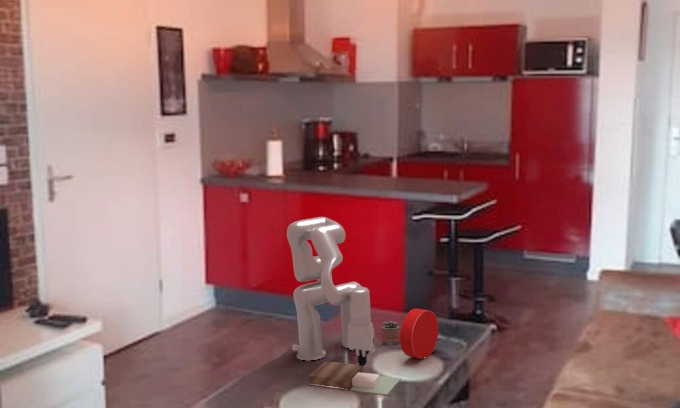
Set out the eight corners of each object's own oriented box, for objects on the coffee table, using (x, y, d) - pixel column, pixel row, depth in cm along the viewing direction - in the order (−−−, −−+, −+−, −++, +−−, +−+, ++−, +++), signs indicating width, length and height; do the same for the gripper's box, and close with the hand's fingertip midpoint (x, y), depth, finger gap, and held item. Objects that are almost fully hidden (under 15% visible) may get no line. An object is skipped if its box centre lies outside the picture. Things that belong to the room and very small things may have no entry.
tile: (351, 385, 281) (351, 379, 280) (358, 378, 287) (358, 372, 287) (374, 387, 277) (373, 381, 277) (380, 380, 284) (379, 374, 283)
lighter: (400, 341, 325) (399, 320, 323) (400, 344, 321) (399, 322, 320) (382, 342, 326) (381, 320, 324) (382, 345, 322) (381, 323, 321)
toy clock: (427, 347, 316) (425, 302, 313) (439, 350, 312) (437, 304, 309) (401, 363, 301) (398, 316, 298) (413, 365, 297) (410, 318, 294)
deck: (309, 385, 285) (309, 375, 284) (326, 370, 298) (325, 361, 297) (347, 390, 278) (346, 380, 277) (362, 374, 291) (362, 365, 291)
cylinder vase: (371, 339, 329) (368, 286, 325) (370, 350, 317) (367, 294, 313) (344, 340, 331) (340, 287, 327) (341, 350, 318) (337, 295, 314)
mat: (350, 390, 277) (349, 389, 277) (365, 375, 291) (365, 374, 291) (387, 395, 271) (387, 394, 271) (400, 379, 285) (400, 378, 285)
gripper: (338, 320, 279) (340, 366, 282) (375, 325, 272) (377, 371, 276) (346, 314, 285) (348, 358, 289) (382, 318, 279) (384, 363, 283)
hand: (362, 364), depth 282 cm, fingers closed
